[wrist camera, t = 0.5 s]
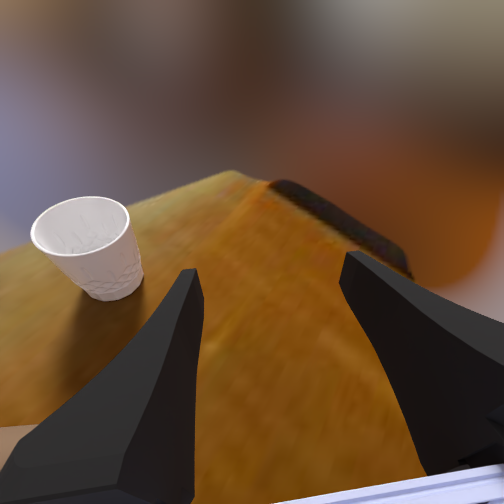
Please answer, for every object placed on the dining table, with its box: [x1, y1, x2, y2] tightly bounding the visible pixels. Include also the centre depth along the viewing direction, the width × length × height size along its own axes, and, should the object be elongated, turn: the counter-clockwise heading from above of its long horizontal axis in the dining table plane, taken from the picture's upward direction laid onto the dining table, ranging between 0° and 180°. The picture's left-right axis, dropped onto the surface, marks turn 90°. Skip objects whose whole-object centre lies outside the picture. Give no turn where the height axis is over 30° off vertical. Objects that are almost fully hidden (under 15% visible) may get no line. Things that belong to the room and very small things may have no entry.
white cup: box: [31, 196, 144, 301], centre depth 25 cm, size 8×8×10 cm
